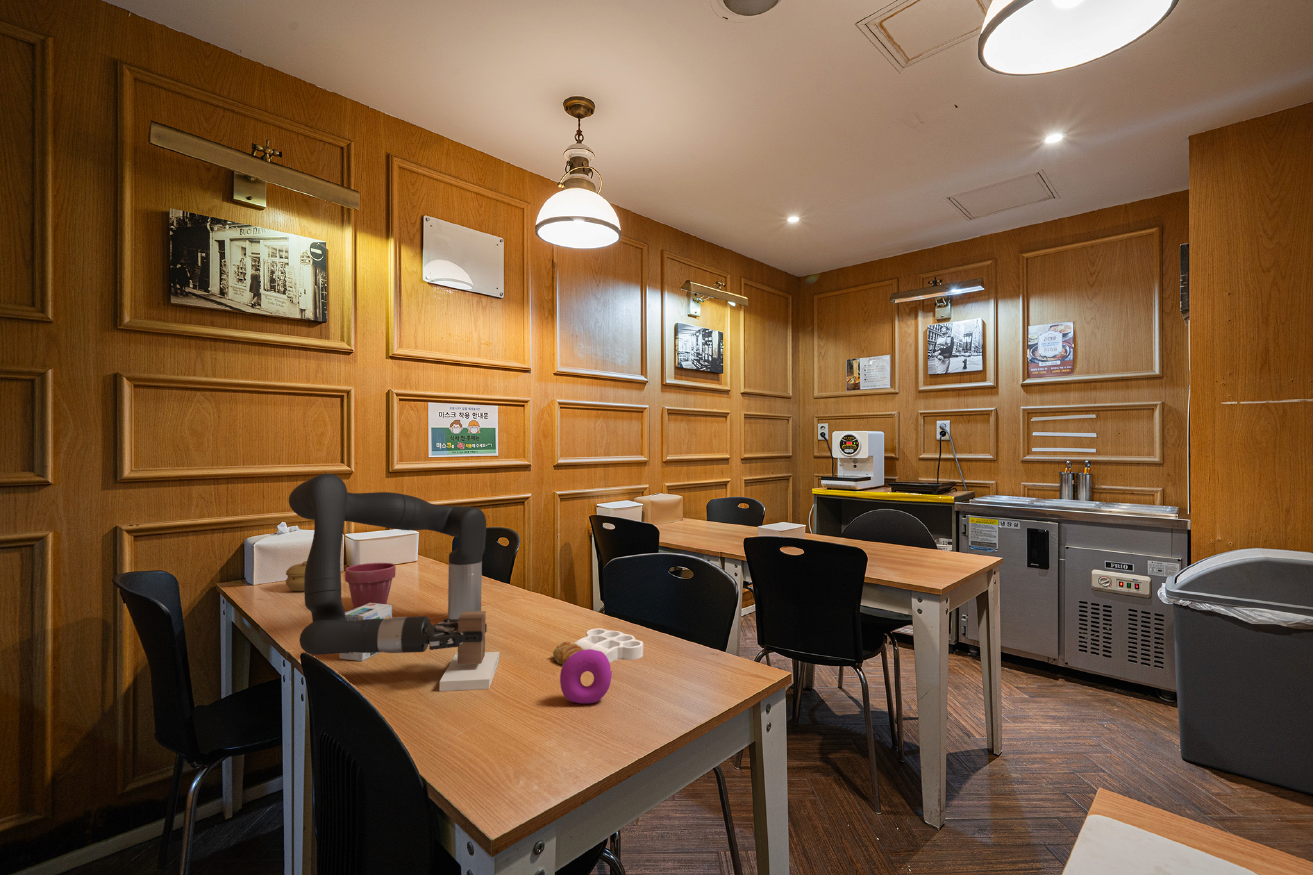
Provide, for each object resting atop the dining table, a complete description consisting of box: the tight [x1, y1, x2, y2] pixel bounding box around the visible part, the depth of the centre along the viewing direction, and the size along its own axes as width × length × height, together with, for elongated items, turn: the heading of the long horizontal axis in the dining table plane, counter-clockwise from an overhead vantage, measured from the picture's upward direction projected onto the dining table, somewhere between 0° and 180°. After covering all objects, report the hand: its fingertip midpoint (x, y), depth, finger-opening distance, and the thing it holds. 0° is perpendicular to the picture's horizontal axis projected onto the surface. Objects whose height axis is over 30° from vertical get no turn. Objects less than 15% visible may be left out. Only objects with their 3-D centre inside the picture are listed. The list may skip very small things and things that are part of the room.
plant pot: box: [344, 562, 397, 609], centre depth 177 cm, size 14×14×13 cm
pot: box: [285, 560, 307, 592], centre depth 197 cm, size 12×12×10 cm
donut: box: [559, 649, 613, 704], centre depth 113 cm, size 8×9×10 cm
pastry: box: [552, 641, 583, 666], centre depth 134 cm, size 9×7×4 cm
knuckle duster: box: [573, 627, 644, 664], centre depth 141 cm, size 3×18×15 cm
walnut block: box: [457, 610, 487, 664], centre depth 126 cm, size 5×5×10 cm
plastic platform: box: [439, 651, 500, 692], centre depth 125 cm, size 16×10×2 cm, turn 8°
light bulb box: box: [339, 603, 393, 662], centre depth 138 cm, size 11×7×11 cm, turn 168°
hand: (484, 632), depth 126 cm, fingers closed on walnut block, 5 cm apart
